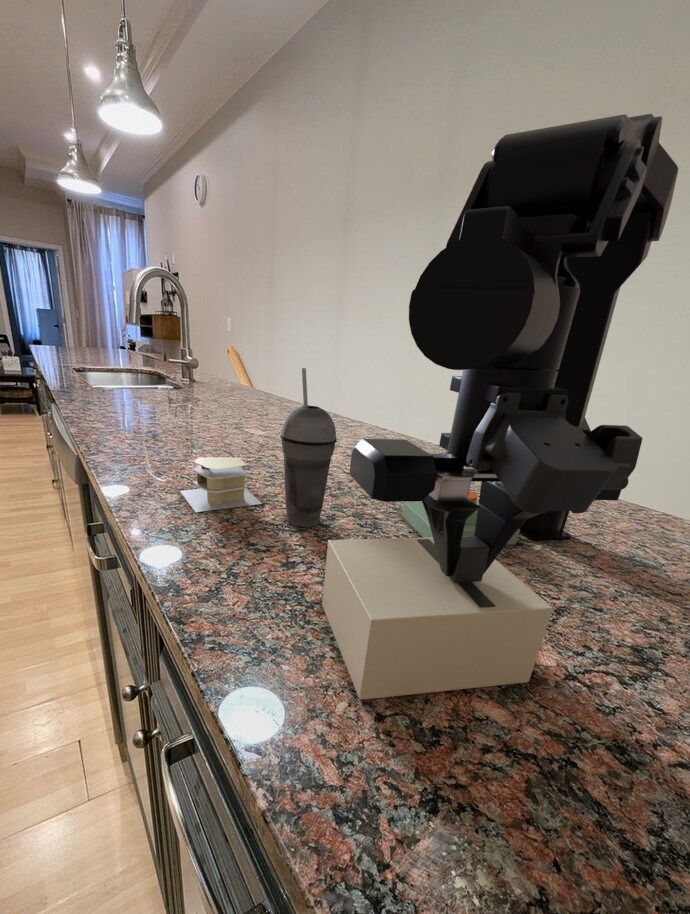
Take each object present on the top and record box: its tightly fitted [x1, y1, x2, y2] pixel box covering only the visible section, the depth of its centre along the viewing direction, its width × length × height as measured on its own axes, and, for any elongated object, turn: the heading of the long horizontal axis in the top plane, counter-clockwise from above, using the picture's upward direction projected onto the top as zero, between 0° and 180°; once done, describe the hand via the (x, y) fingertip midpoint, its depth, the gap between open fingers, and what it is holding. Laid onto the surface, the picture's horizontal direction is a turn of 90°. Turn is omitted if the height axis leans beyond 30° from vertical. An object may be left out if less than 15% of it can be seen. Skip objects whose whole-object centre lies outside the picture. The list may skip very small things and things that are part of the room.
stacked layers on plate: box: [179, 456, 263, 513], centre depth 66 cm, size 10×9×6 cm
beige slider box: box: [321, 536, 554, 701], centre depth 38 cm, size 14×12×7 cm
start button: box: [468, 490, 479, 503], centre depth 60 cm, size 4×4×2 cm
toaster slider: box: [448, 536, 490, 583], centre depth 35 cm, size 2×2×3 cm
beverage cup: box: [279, 367, 338, 528], centre depth 58 cm, size 7×7×20 cm
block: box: [401, 499, 520, 546], centre depth 61 cm, size 12×10×4 cm
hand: (461, 573), depth 35 cm, fingers closed on toaster slider, 2 cm apart
